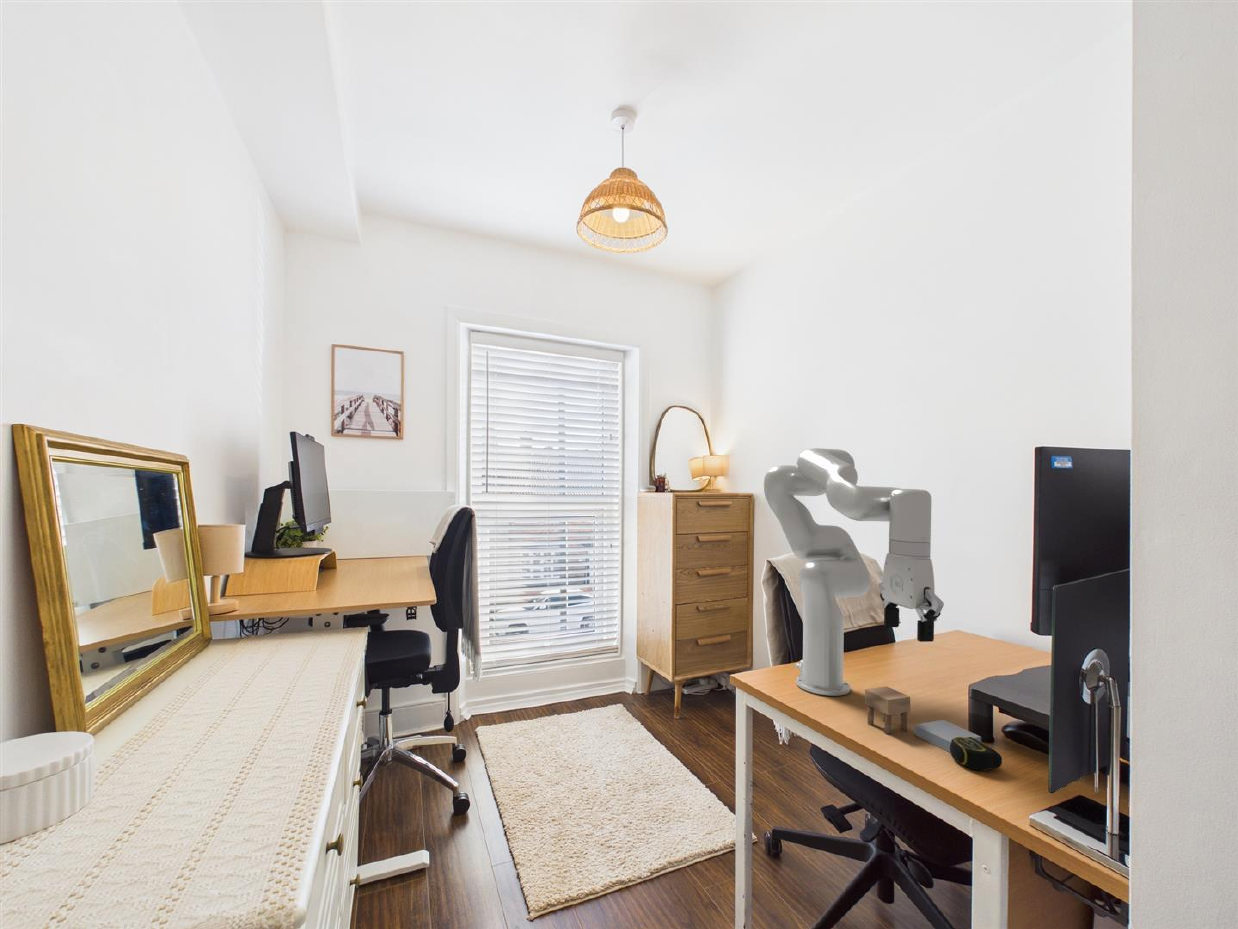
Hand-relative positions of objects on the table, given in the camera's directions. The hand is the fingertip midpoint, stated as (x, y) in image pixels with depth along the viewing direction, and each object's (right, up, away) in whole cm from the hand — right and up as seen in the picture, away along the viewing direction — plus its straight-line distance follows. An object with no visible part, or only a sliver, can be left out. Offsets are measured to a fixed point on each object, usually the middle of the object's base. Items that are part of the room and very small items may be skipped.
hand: (907, 633), depth 109 cm
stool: (-3, -20, +3) cm, 21 cm away
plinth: (+6, -20, -3) cm, 22 cm away
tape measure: (+6, -20, -11) cm, 24 cm away
